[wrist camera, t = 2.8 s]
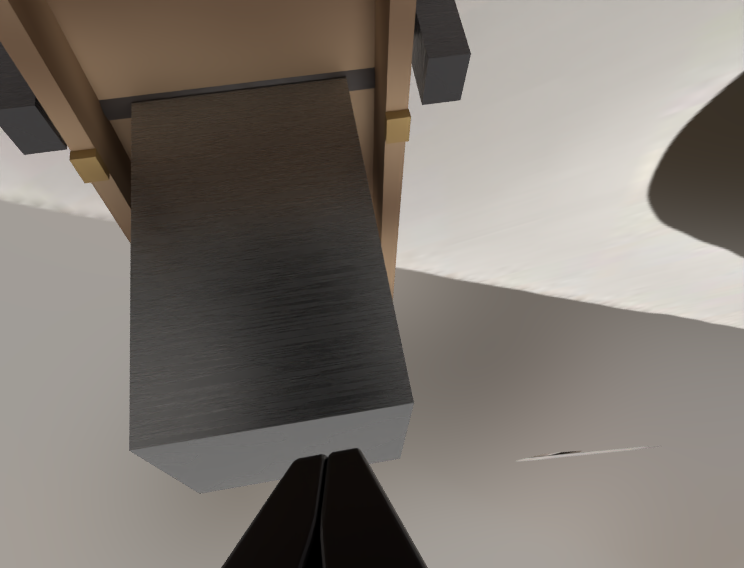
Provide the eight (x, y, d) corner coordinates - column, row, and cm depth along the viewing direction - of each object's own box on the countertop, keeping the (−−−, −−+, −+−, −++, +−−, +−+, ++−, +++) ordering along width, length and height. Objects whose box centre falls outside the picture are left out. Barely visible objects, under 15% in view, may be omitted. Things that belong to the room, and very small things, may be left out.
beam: (-95, -217, 9) (-135, -113, 8) (413, -254, 10) (454, -164, 9) (192, 297, 25) (194, 362, 24) (386, 268, 26) (399, 330, 24)
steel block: (131, 103, 14) (129, 451, 11) (345, 77, 15) (413, 402, 11) (187, 221, 19) (199, 493, 15) (350, 199, 19) (399, 458, 15)
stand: (-38, -74, 14) (-57, 73, 12) (446, -120, 15) (489, 11, 13) (45, 56, 18) (39, 182, 16) (428, 13, 18) (460, 128, 17)
